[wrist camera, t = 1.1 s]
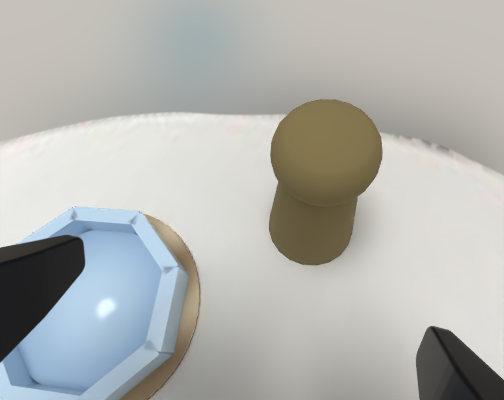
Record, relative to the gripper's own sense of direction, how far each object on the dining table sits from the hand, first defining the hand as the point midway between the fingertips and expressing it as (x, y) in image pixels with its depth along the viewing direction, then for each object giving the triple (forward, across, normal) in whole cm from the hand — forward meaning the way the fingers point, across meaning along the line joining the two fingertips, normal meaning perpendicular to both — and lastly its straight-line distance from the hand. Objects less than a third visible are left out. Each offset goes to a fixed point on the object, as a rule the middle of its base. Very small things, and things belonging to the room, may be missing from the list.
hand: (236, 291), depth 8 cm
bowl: (+9, +12, +11) cm, 18 cm away
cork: (+16, -2, +5) cm, 17 cm away
